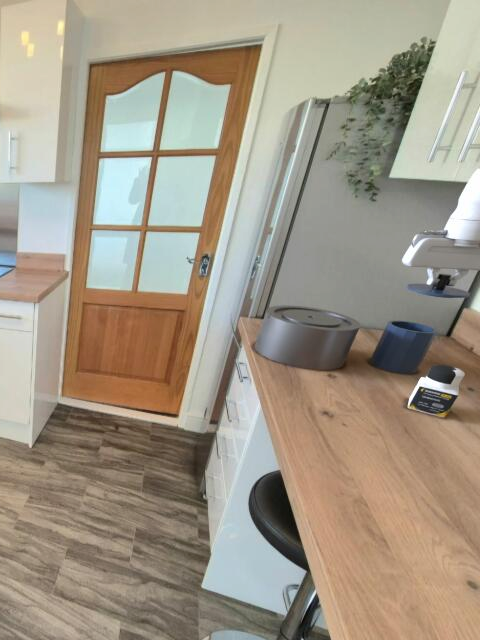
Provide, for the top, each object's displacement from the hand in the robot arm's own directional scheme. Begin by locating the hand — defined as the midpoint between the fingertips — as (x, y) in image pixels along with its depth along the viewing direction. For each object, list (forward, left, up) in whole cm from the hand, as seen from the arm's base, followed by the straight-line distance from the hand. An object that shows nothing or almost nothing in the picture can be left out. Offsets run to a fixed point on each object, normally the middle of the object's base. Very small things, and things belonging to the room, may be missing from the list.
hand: (440, 285), depth 115 cm
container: (+23, -8, -29) cm, 38 cm away
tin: (-2, -15, -29) cm, 33 cm away
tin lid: (0, 0, -2) cm, 2 cm away
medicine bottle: (-6, +15, -29) cm, 34 cm away
